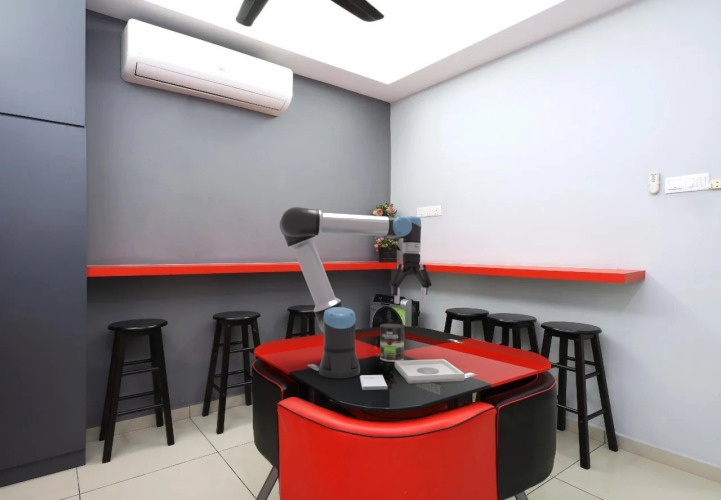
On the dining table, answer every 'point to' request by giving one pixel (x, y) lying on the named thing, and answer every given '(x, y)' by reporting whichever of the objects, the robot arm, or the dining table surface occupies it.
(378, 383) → the external hard drive
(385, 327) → the coffee can
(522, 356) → the dining table surface
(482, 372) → the dining table surface
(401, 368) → the tray
